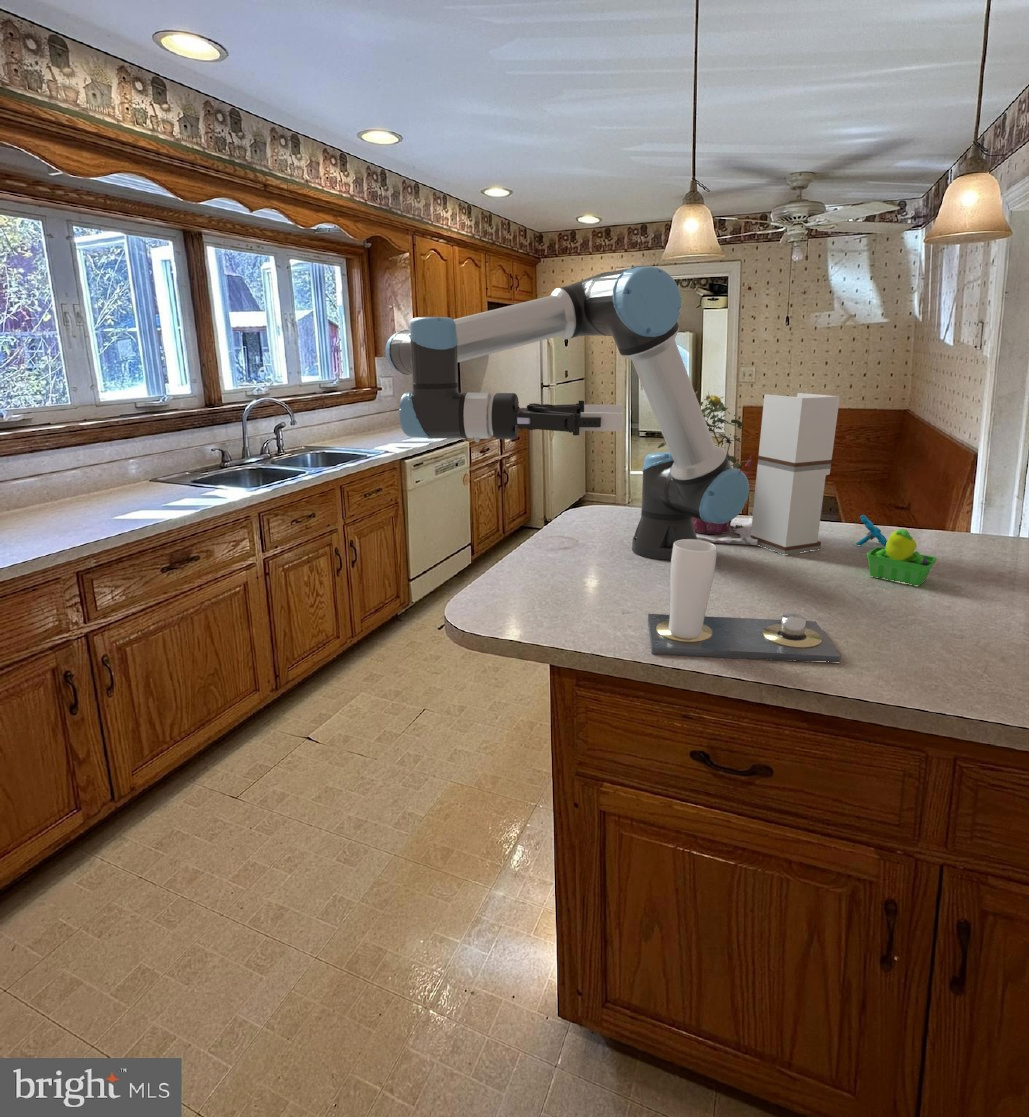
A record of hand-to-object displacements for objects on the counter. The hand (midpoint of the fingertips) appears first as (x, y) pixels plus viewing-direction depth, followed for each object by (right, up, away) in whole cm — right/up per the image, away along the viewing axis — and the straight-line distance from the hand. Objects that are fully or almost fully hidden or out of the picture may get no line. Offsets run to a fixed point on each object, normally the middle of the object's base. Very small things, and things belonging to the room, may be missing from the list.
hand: (622, 417), depth 115 cm
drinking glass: (+10, -35, 0) cm, 37 cm away
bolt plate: (+19, -36, +1) cm, 41 cm away
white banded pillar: (+46, -20, +53) cm, 73 cm away
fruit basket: (+60, -27, +29) cm, 72 cm away
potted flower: (+31, -16, +67) cm, 76 cm away
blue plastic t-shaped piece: (+67, -20, +52) cm, 87 cm away
